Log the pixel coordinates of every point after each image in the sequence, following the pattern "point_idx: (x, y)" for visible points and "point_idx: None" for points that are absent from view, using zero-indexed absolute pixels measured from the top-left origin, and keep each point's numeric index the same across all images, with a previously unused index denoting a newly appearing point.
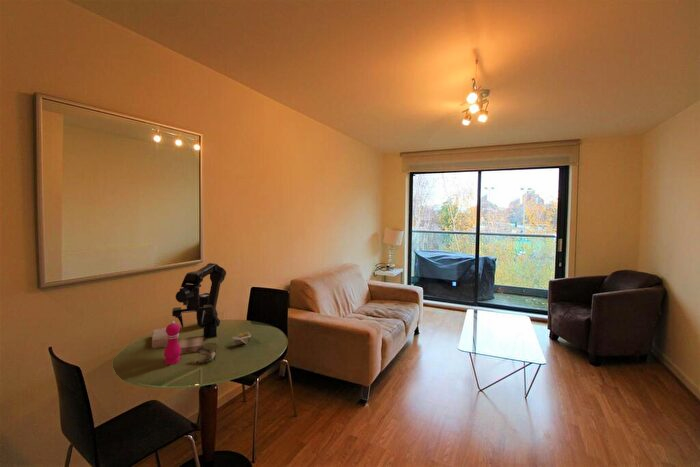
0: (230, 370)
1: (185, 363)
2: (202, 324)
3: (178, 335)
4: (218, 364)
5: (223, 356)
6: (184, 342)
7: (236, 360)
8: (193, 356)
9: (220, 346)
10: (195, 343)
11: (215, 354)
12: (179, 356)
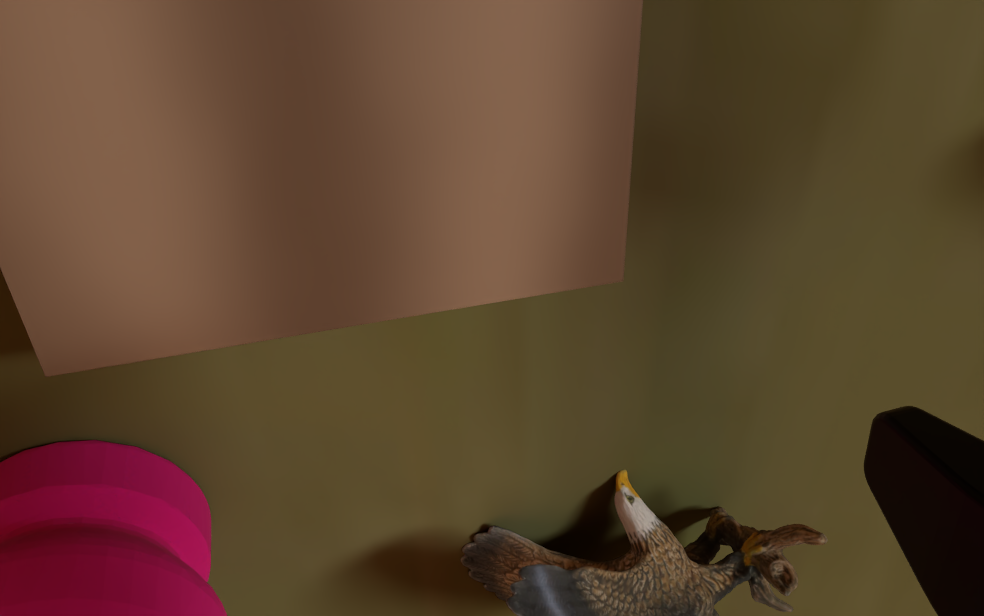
0: None
1: (324, 573)
2: (903, 517)
3: None
4: (735, 591)
5: (844, 423)
6: (117, 33)
7: None
8: (415, 395)
9: (919, 55)
10: (448, 160)
11: (762, 581)
12: (196, 541)
